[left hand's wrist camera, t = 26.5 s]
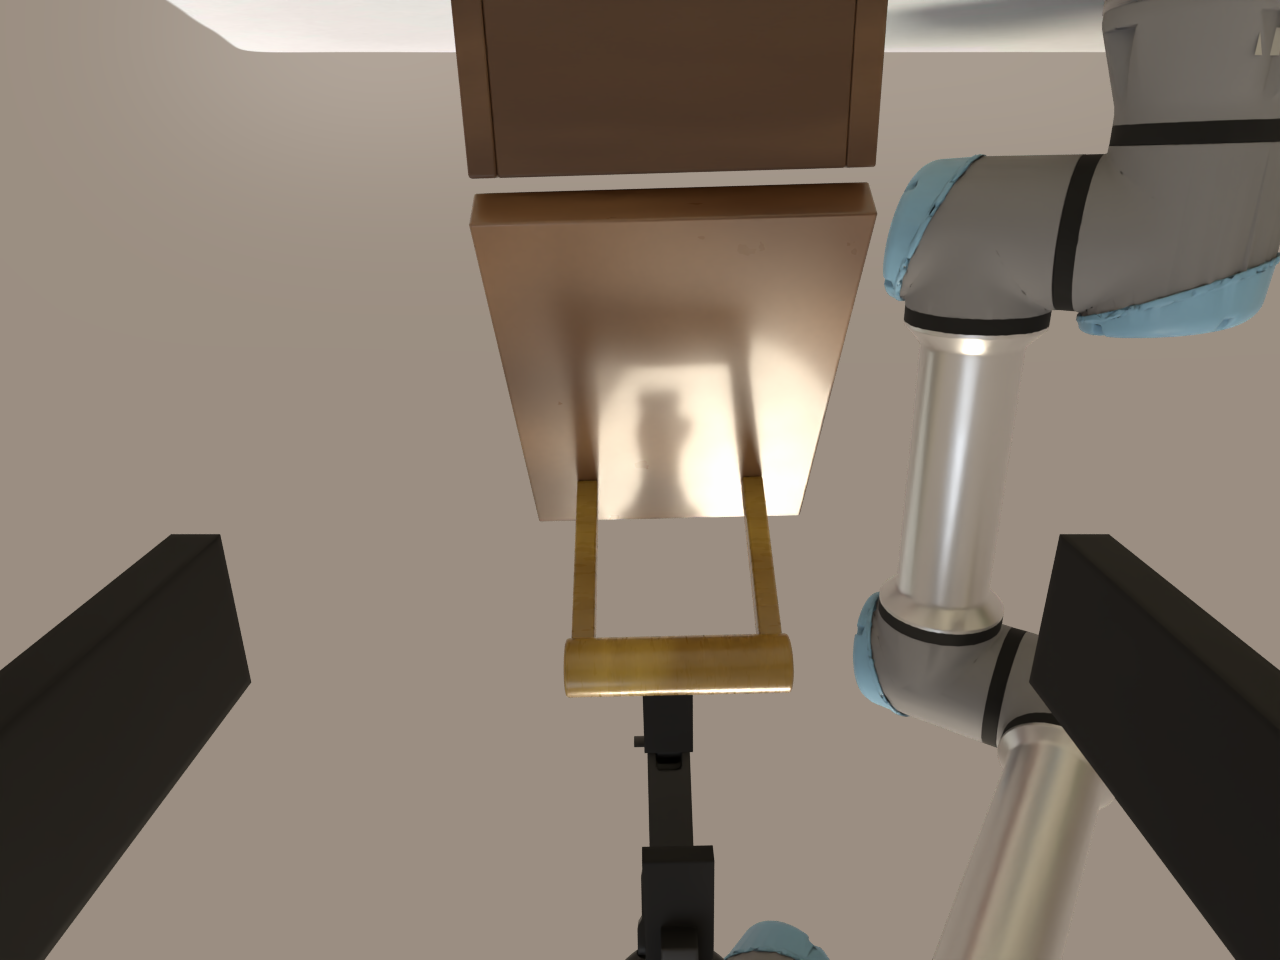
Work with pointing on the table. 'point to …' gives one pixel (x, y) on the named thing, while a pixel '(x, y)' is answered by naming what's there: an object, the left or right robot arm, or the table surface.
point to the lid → (672, 383)
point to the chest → (668, 85)
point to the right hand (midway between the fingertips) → (671, 733)
